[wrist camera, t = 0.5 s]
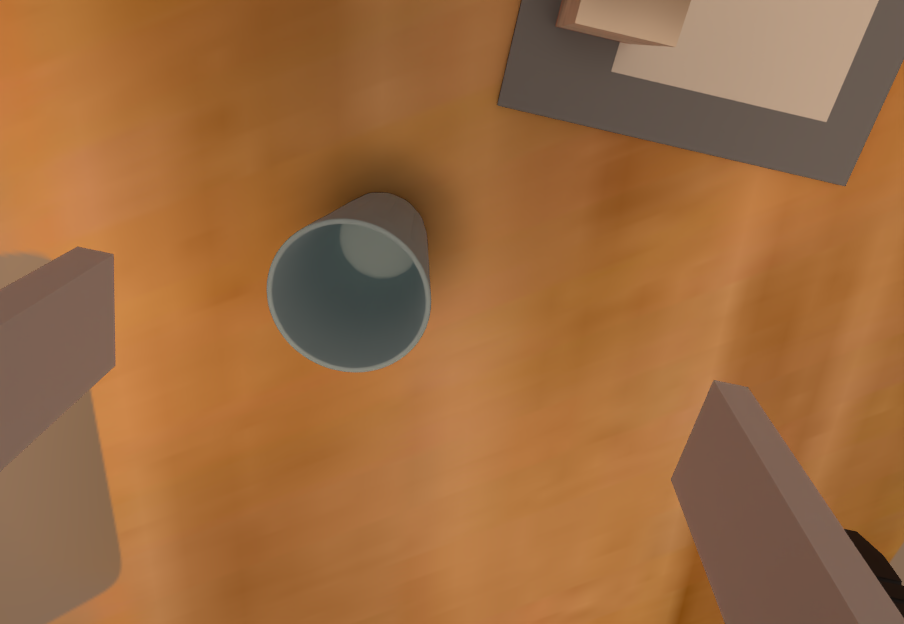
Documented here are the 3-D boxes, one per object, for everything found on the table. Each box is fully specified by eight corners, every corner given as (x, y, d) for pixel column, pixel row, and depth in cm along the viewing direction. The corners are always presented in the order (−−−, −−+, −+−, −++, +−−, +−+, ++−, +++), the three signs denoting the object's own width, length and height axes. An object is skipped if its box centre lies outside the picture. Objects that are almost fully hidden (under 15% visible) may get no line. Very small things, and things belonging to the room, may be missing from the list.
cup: (417, 153, 38) (392, 194, 28) (463, 271, 41) (454, 345, 31) (300, 198, 39) (238, 252, 30) (352, 309, 42) (311, 391, 33)
